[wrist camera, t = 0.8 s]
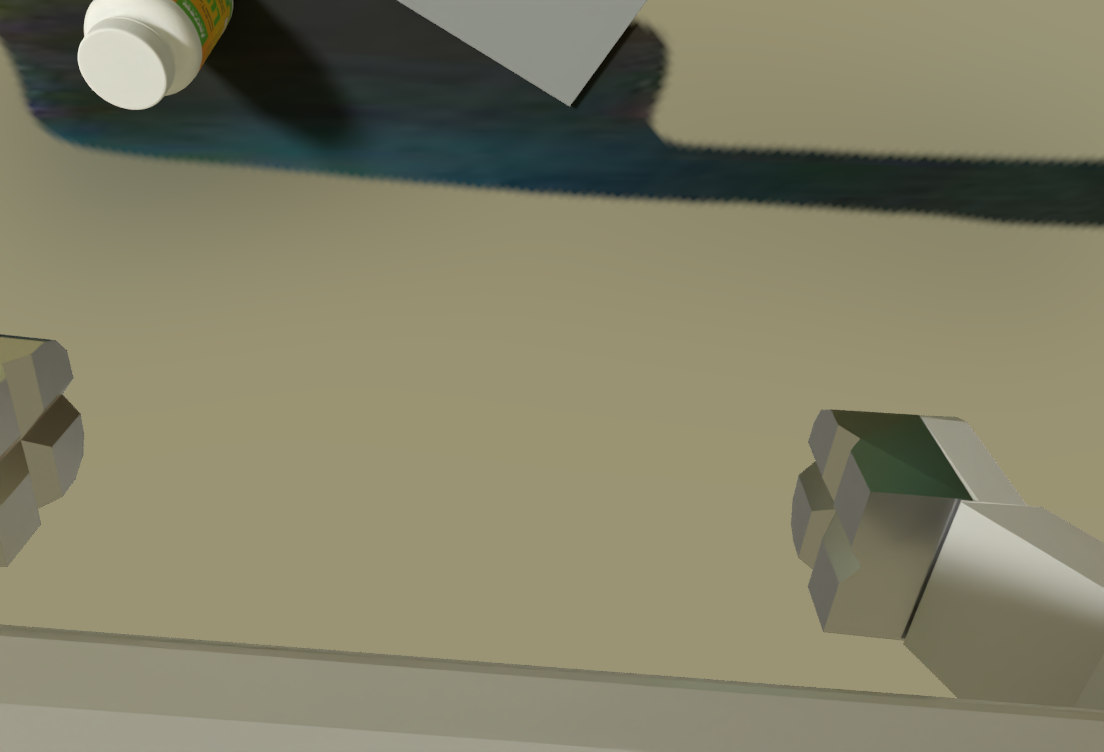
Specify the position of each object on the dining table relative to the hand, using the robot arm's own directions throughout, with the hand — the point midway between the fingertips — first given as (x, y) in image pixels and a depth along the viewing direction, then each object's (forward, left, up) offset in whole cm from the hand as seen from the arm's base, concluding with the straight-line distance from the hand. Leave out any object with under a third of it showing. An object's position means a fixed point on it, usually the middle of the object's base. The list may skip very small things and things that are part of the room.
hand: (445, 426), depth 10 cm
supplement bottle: (+20, -9, -43) cm, 48 cm away
